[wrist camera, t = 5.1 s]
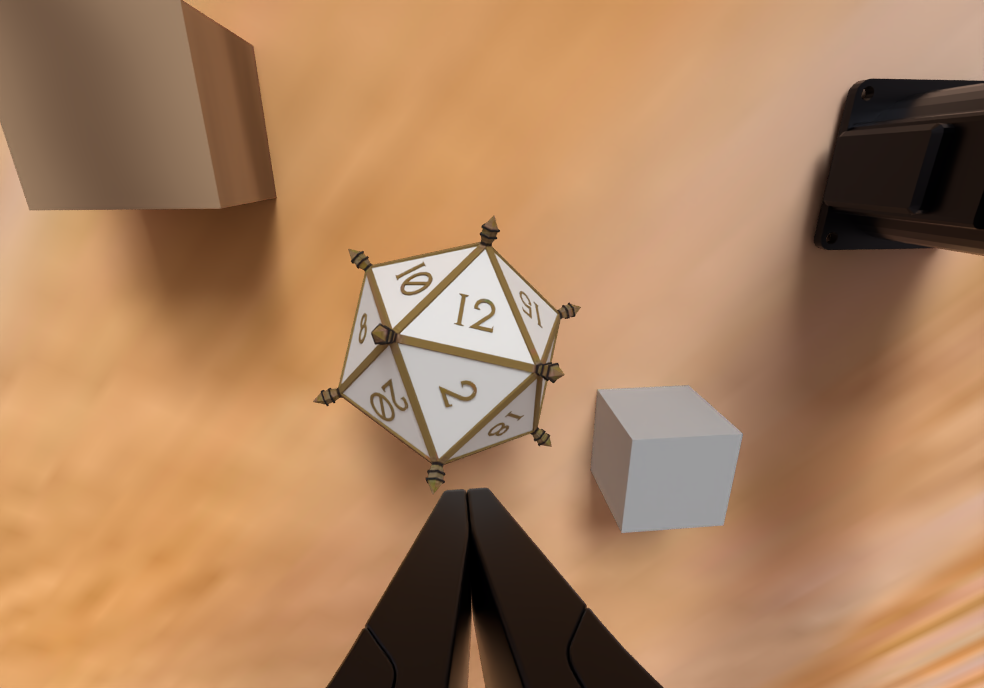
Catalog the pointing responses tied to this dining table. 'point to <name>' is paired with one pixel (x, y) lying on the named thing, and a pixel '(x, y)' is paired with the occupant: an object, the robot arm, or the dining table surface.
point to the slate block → (663, 458)
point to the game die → (450, 351)
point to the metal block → (130, 106)
